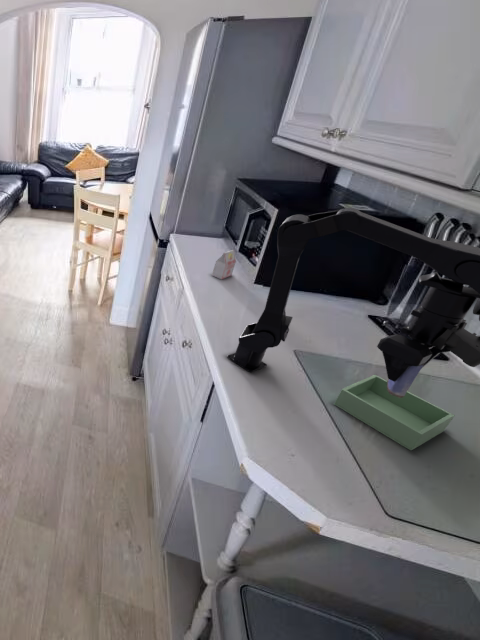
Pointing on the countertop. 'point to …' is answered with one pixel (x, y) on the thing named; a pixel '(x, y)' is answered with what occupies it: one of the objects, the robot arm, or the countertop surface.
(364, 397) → the bin
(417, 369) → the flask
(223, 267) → the milk carton
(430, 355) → the robot arm
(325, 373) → the countertop surface
